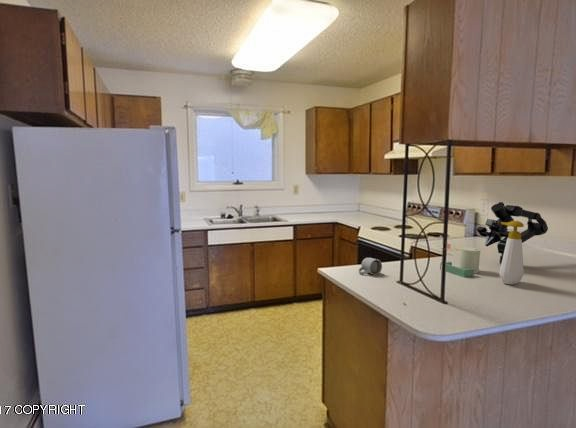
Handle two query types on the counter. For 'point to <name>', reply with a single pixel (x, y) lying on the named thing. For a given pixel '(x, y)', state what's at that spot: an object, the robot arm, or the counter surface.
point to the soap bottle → (512, 256)
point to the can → (470, 258)
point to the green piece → (458, 270)
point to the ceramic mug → (371, 266)
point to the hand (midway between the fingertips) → (486, 245)
